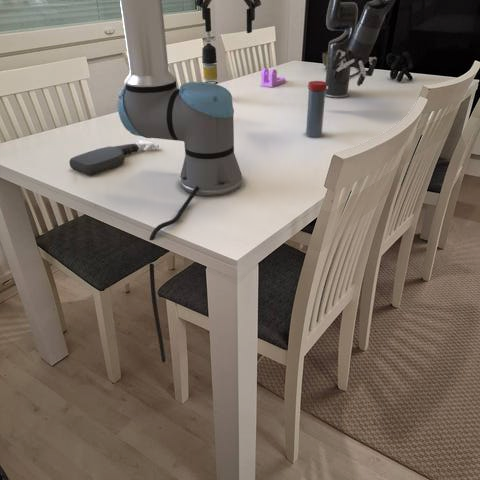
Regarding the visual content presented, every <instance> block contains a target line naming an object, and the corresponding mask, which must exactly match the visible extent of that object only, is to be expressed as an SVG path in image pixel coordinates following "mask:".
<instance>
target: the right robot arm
mask: <svg viewBox="0 0 480 480" xmlns="http://www.w3.org/2000/svg"><path fill="white" fill-rule="evenodd" d="M396 1H397V0H370V1H368V2H366V4H365V5H364V7H363V9H362V12H361V15H360V18H359V20H358V13H359V7H358V4H357V3H356V2H353V1H348V2H347V1H346V2H344V1H343V2H342V0H329V2H328V6H327V11H326V16H325V18H326V19H325V23H326V24H325V25H326V28H327V29H328V30H329V31H343V33H342V34H341V35H340V36H338V37H336V38H334V39H332V40H330V41H329V42H328V47H327V52H328V58H327V70H326V69H325V82H326V83H327V88H326V91H325V97H328V98H334V99H341V98H346V97H348V96H349V86H350V78H352V77H354V76H357V75H359V77H358V79H357V82H356V85H357V86H358V87H360V86H361V85H363V83H364V81H365V78H367V77H372V76H373V73H374V71H375V68H376V65H377V63H378V60H377V59H378V58H377V56H375V55H374V56H370V55H371V53H372V51H373V48H374V46H375V43H376V42H377V39H378V36H379V33H380V30H381V27H382V25H383V22H384V20H385V17H386V15H387V14H388V12H389V11H390V10H391V8H392V7H393V6H394V4H395V2H396ZM368 62H369V66H368V69H367V70H366V68H365V65H366V64H367V63H368ZM351 68H354V69H358V70H357V72H354V73H353V74H351ZM360 72H361V73H360Z"/></svg>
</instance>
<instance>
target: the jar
mask: <svg viewBox="0 0 480 480" xmlns="http://www.w3.org/2000/svg"><path fill="white" fill-rule="evenodd" d="M325 91H326V90H324V91H312V90H309V89H308V96H307V113H306V114H307V115H306V128H305V129H306V130H305V136H306V137H308V138H320V137H322V136H323V127H324V126H323V125H324V114H325V102H326V96H325Z"/></svg>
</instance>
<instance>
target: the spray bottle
mask: <svg viewBox="0 0 480 480" xmlns="http://www.w3.org/2000/svg"><path fill="white" fill-rule="evenodd" d="M159 148H160V145H159V144H158V143H155V142H151V141H148V140H144V139H139V140H138V141H137V142H135V143H129V144H128V143H126V144H122V145H113V146H105V147H100V148H97V149H94V150H90V151H87V152H83V153H81V154H78V155H74V156H73V157H70V159H69V161H68V162H69V167H70V168H71V169H72V170H74V171H75V172H78V173H81V174H83V175H85V176H89V177H90V176H91V177H92V176H95V175H99V174H102V173H105V172H107V171H110V170H113V169H116V168H118V167H120V166H122V165H123V164H124V163H125V158H126V156H127V155H131V154H133V153H138V151H140V150H143V151H144V152H146V151H147V150H149V149H159Z"/></svg>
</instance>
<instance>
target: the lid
mask: <svg viewBox="0 0 480 480" xmlns="http://www.w3.org/2000/svg"><path fill="white" fill-rule="evenodd" d="M326 88H327V83H326V81H323V80H312V81H309V82H308V83H307V89H308V91H309V90H312V91H324V90H326Z"/></svg>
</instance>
